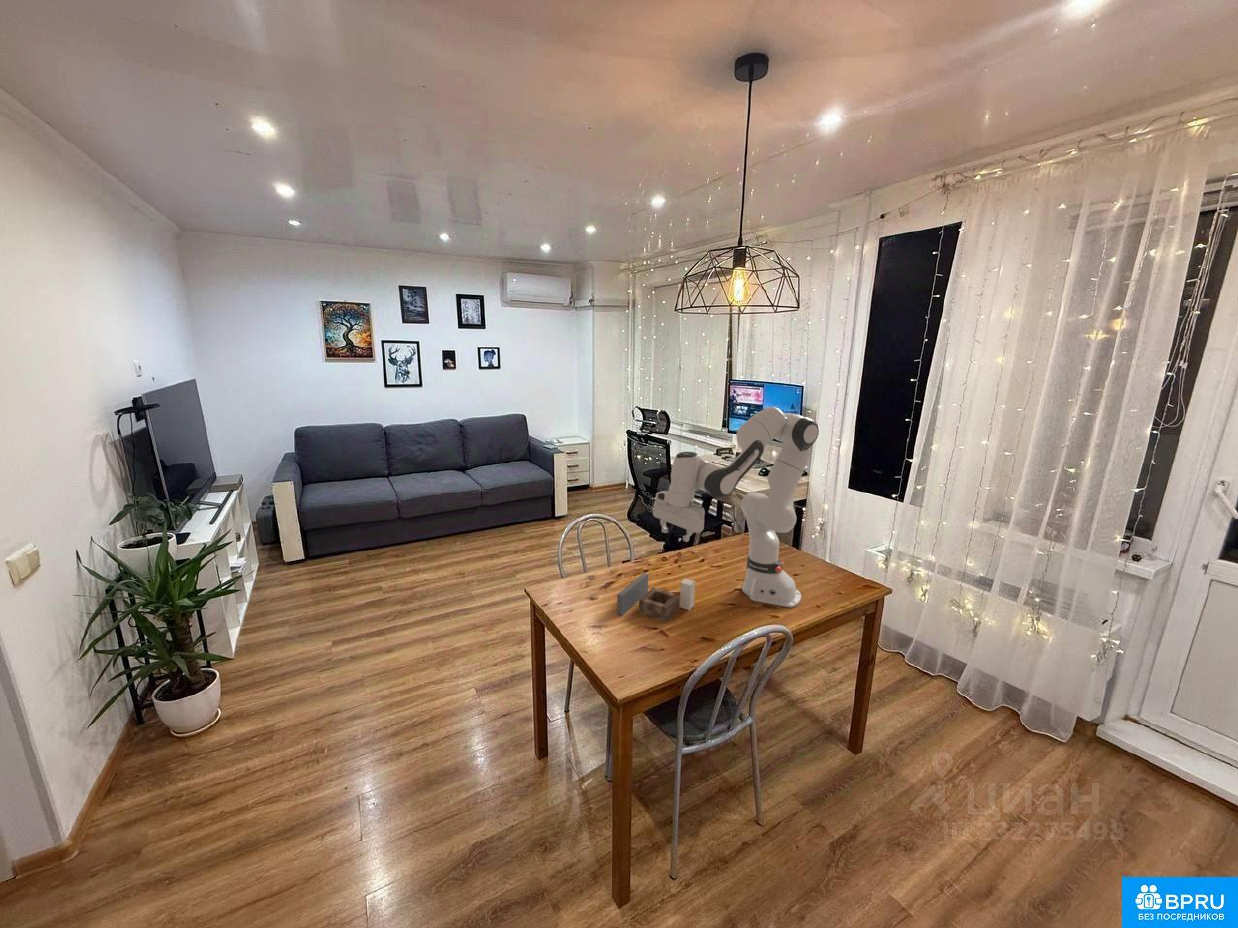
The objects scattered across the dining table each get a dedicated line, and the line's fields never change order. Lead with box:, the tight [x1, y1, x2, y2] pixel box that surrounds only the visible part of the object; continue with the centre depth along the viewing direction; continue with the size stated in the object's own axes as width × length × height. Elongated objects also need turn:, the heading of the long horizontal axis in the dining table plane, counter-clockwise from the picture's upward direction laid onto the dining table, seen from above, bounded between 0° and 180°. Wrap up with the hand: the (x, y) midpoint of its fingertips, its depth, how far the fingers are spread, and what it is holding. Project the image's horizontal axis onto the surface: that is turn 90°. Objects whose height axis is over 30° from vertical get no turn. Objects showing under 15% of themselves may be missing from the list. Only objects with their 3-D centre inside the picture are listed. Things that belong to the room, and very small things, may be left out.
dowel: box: [679, 578, 696, 611], centre depth 184 cm, size 4×4×10 cm
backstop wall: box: [616, 572, 649, 617], centre depth 185 cm, size 2×20×8 cm, turn 149°
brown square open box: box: [638, 586, 680, 624], centre depth 180 cm, size 11×11×6 cm
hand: (674, 536), depth 172 cm, fingers open, 8 cm apart
